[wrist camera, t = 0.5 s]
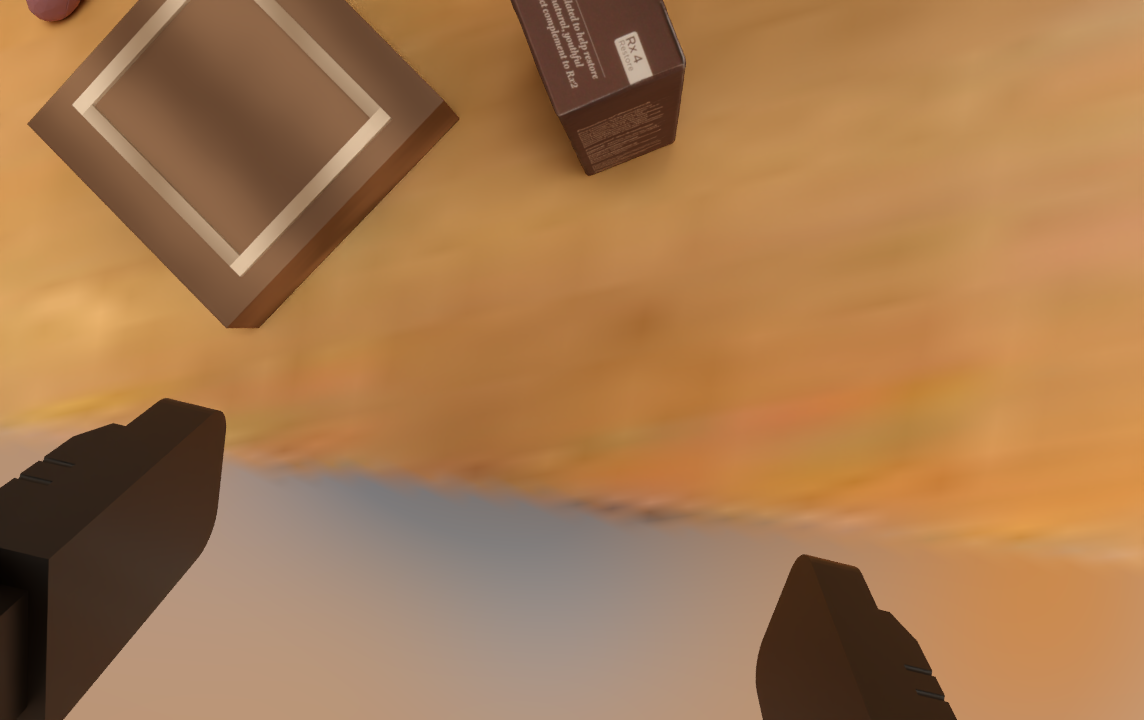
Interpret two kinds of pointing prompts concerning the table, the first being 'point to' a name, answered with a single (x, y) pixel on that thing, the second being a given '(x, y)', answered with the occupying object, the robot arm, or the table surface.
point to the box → (607, 74)
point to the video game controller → (52, 8)
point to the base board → (242, 138)
